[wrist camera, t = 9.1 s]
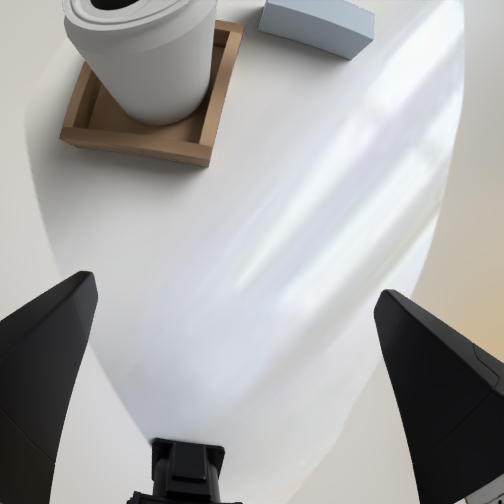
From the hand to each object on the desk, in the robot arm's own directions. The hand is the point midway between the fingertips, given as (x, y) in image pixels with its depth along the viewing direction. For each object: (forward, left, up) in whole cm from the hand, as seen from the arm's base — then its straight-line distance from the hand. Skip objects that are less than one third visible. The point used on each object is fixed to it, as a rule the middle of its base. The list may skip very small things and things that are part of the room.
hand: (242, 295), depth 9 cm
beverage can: (+10, +6, -12) cm, 17 cm away
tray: (+10, +7, -12) cm, 17 cm away
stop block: (+19, -3, -12) cm, 23 cm away
